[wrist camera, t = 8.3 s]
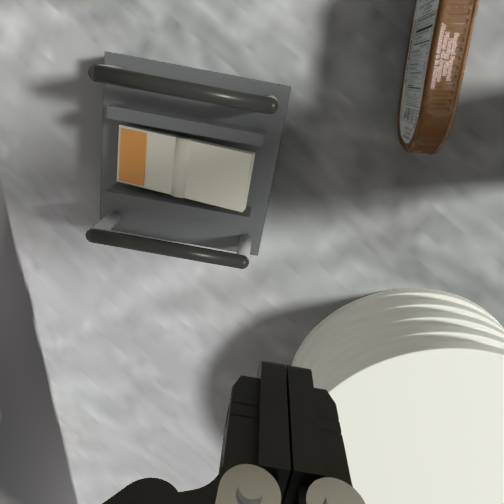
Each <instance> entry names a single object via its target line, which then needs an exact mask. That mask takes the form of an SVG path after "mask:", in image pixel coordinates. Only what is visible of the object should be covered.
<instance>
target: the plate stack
mask: <svg viewBox="0 0 504 504" xmlns="http://www.w3.org/2000/svg"><path fill="white" fill-rule="evenodd" d="M291 366H295V367H301V368H307V369H311V371H312V378H313V385H314V388H319V389H325V390H327V391H328V393H329V394H330V396H331V397H332V399H333V400H334V402H335V403H336V407H337V412H338V417H339V422H340V427H341V435H342V437H343V442H344V447H345V452H346V457H347V462H348V467H349V472H350V477H351V482H352V486H353V488H354V489H355V490H356V491H357V492H358V493H359V494H360V495H361V497H362V498H363V500H364V502H365V504H504V328H503V327H502V326H501V324H500V323H499V322H498V321H497V320H496V319H495V318H494V317H493V316H492V315H491V314H490V313H488V312H487V311H486V310H484V309H483V308H482V307H480V306H479V305H477V304H475V303H474V302H472V301H470V300H468V299H465V298H463V297H461V296H458V295H455V294H452V293H448V292H444V291H439V290H433V289H425V288H403V289H393V290H387V291H382V292H378V293H374V294H371V295H367V296H364V297H362V298H359V299H357V300H354V301H352V302H350V303H348V304H346V305H344V306H342V307H340V308H339V309H337V310H336V311H334V312H332V313H331V314H330V315H328V316H327V317H326V318H324V319H323V320H322V321H321V322H320V323H319V324H317V325H316V326H315V327H314V328H313V329H312V331H311V332H310V333H309V334H308V335H307V336H306V338H305V339H304V341H303V342H302V343H301V345H300V347H299V348H298V350H297V352H296V354H295V357H294V359H293V362H292V365H291Z"/></svg>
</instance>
